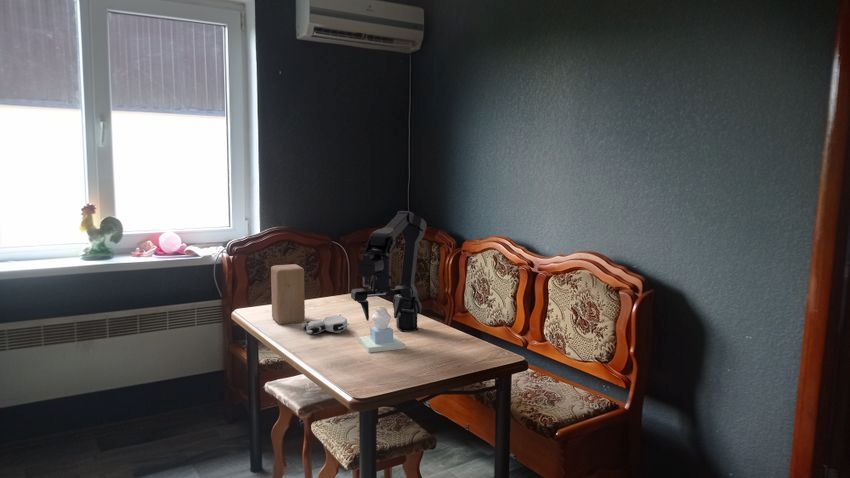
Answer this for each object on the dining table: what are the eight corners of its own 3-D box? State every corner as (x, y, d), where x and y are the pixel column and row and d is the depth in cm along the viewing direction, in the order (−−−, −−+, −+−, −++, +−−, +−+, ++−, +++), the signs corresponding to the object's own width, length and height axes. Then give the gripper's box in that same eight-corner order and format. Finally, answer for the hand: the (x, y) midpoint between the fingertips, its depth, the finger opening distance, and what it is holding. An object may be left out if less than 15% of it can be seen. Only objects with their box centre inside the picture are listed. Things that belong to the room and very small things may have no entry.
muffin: (390, 325, 205) (390, 304, 204) (391, 330, 199) (391, 309, 198) (371, 325, 204) (371, 305, 203) (372, 331, 198) (372, 309, 197)
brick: (387, 336, 206) (387, 325, 206) (393, 342, 201) (393, 330, 200) (370, 338, 204) (370, 326, 203) (375, 344, 198) (375, 331, 198)
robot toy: (308, 341, 208) (351, 334, 214) (306, 328, 208) (350, 321, 213) (301, 331, 220) (343, 324, 225) (300, 319, 219) (342, 312, 224)
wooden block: (278, 325, 224) (277, 270, 221) (271, 318, 232) (270, 265, 230) (305, 322, 228) (304, 268, 225) (297, 315, 237) (297, 263, 234)
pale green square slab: (393, 337, 210) (393, 333, 210) (404, 348, 199) (405, 344, 199) (358, 341, 206) (358, 336, 206) (368, 352, 195) (368, 347, 195)
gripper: (401, 265, 210) (401, 311, 212) (346, 268, 203) (347, 315, 206) (412, 271, 199) (412, 319, 202) (355, 275, 193) (355, 324, 195)
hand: (381, 319), depth 201 cm, fingers open, 9 cm apart
